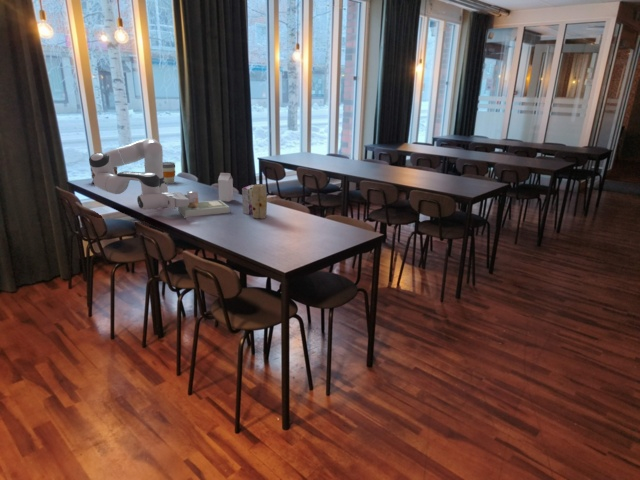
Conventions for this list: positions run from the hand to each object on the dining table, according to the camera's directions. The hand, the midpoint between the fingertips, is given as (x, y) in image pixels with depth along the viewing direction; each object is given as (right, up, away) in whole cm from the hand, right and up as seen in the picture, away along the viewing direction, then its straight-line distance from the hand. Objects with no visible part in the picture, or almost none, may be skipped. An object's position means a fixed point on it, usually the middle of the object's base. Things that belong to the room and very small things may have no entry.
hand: (193, 198), depth 249 cm
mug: (-90, +20, +77) cm, 121 cm away
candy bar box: (+32, -9, +9) cm, 35 cm away
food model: (+39, -12, -1) cm, 41 cm away
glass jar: (0, -8, +3) cm, 8 cm away
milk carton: (+12, +1, +34) cm, 36 cm away
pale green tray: (+5, -8, +6) cm, 11 cm away
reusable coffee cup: (-45, +21, +85) cm, 99 cm away
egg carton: (+11, -6, +9) cm, 15 cm away
